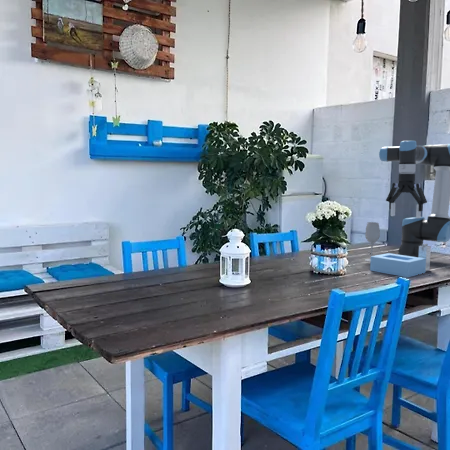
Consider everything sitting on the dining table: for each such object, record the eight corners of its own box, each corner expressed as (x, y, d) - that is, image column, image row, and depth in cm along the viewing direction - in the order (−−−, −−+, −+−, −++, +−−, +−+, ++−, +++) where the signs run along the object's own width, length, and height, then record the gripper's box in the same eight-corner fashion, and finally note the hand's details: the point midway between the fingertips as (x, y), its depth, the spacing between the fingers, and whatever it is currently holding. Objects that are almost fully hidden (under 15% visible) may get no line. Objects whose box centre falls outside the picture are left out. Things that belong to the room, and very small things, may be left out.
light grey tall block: (421, 268, 237) (423, 243, 235) (429, 270, 234) (430, 244, 232) (417, 269, 234) (419, 244, 233) (425, 271, 231) (426, 245, 230)
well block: (388, 266, 242) (388, 253, 242) (425, 272, 227) (426, 258, 226) (370, 270, 232) (370, 256, 231) (407, 277, 217) (408, 262, 216)
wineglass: (380, 261, 255) (382, 223, 253) (366, 261, 255) (367, 223, 253) (376, 259, 263) (377, 222, 260) (362, 259, 263) (364, 222, 261)
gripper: (379, 173, 234) (378, 215, 236) (427, 173, 214) (425, 219, 217) (388, 173, 238) (387, 214, 241) (436, 173, 219) (433, 218, 221)
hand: (405, 217), depth 229 cm, fingers open, 13 cm apart
